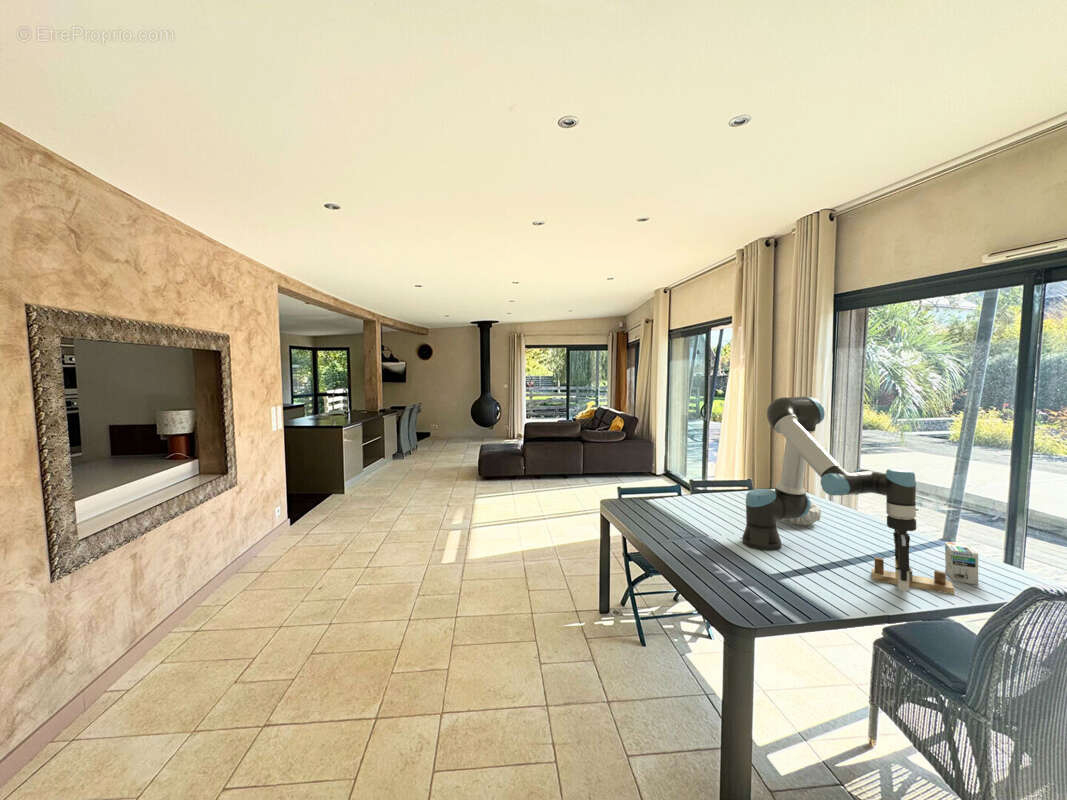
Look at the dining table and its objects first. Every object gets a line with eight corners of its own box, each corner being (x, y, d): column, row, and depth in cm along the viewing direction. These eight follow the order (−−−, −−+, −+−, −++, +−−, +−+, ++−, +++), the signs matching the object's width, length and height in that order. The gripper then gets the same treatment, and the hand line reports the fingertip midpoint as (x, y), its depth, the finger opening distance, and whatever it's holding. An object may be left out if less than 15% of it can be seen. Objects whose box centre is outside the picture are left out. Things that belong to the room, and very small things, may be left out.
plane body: (872, 579, 155) (872, 560, 155) (871, 573, 160) (871, 554, 160) (954, 594, 143) (954, 572, 143) (950, 587, 148) (950, 566, 148)
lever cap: (897, 583, 145) (897, 561, 144) (895, 576, 150) (895, 555, 150) (909, 585, 143) (909, 563, 143) (906, 578, 149) (906, 556, 148)
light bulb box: (979, 585, 149) (979, 553, 149) (952, 581, 153) (952, 550, 152) (969, 574, 158) (969, 544, 158) (944, 570, 162) (944, 541, 161)
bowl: (832, 529, 210) (832, 508, 210) (789, 530, 210) (788, 509, 210) (806, 517, 231) (805, 498, 231) (766, 518, 231) (766, 499, 231)
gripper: (920, 525, 136) (921, 600, 136) (912, 510, 152) (913, 577, 153) (889, 522, 140) (890, 594, 141) (884, 508, 157) (885, 572, 157)
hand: (902, 585), depth 147 cm, fingers closed on lever cap, 7 cm apart
